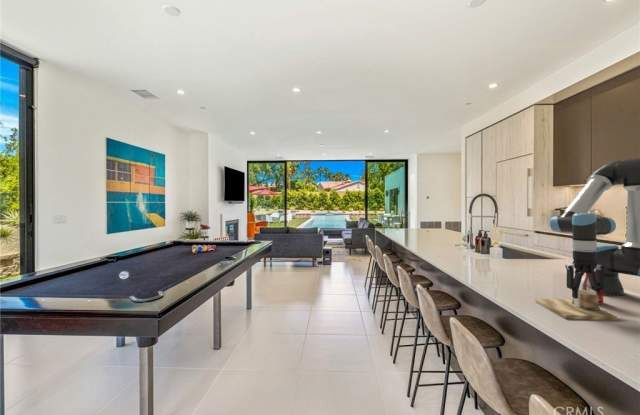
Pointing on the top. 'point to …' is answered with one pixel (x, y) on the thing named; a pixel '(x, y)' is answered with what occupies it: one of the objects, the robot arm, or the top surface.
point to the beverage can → (588, 287)
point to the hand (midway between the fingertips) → (585, 306)
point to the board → (573, 310)
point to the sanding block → (588, 300)
